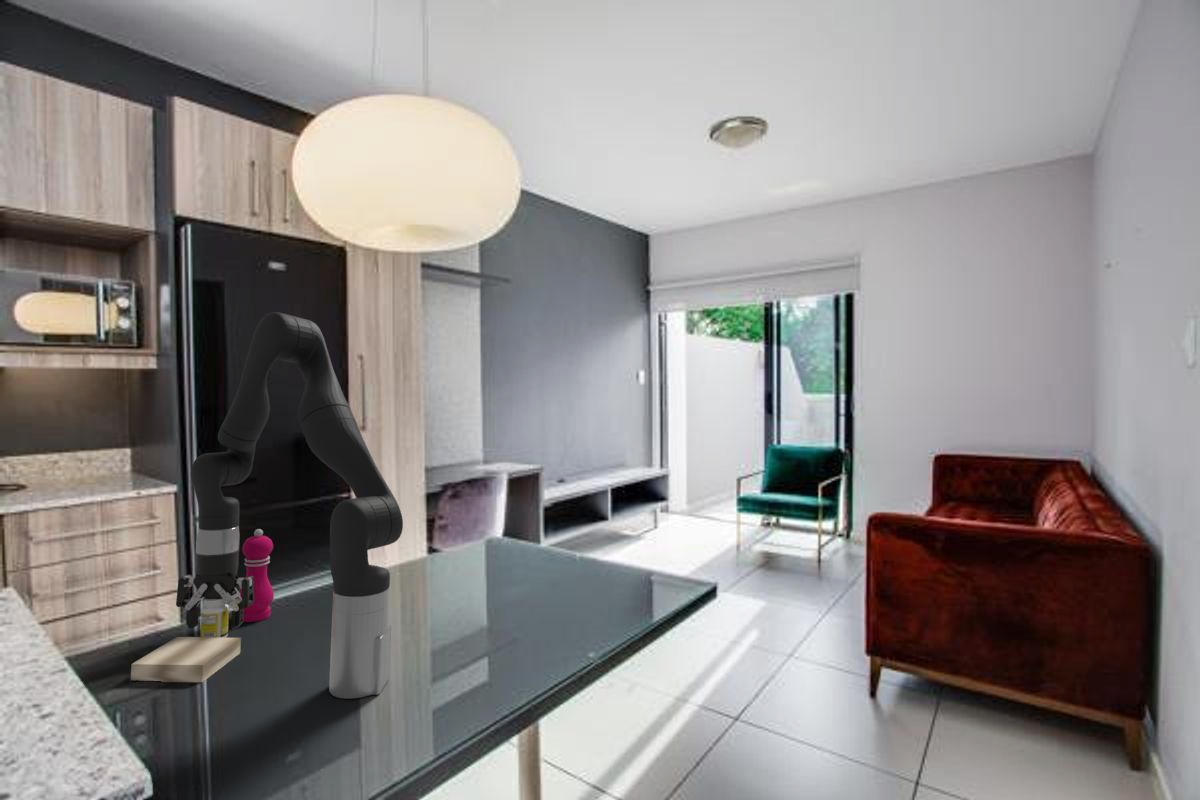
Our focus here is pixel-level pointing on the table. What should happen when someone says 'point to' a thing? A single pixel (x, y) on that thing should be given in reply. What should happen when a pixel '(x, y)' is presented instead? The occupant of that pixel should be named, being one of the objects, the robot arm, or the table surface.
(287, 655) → the table surface
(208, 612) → the supplement bottle
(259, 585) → the pepper mill
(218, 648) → the birch block
